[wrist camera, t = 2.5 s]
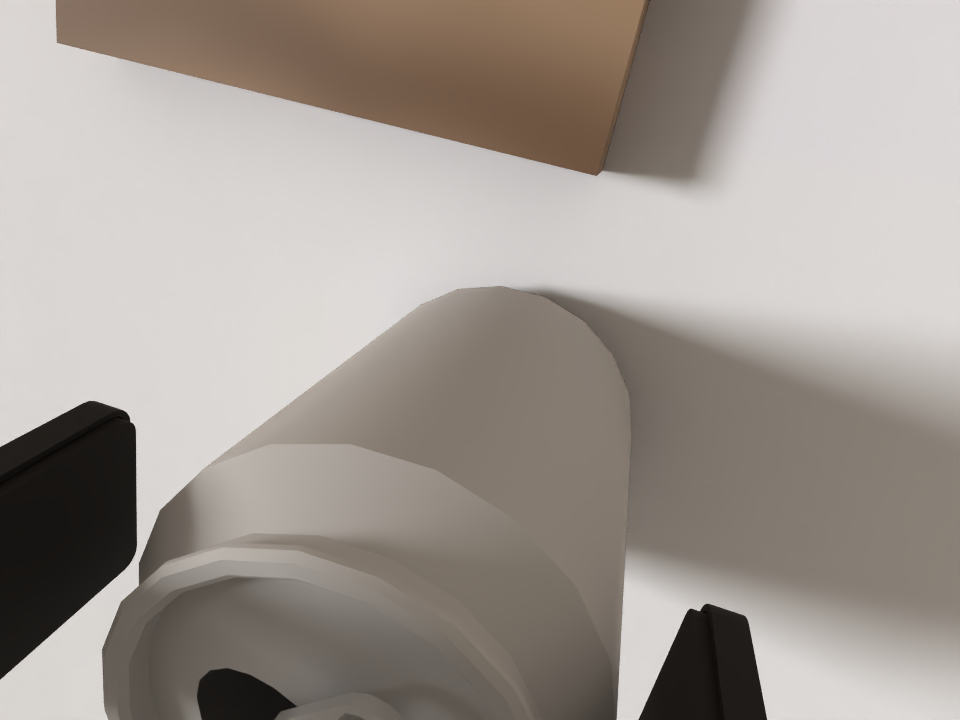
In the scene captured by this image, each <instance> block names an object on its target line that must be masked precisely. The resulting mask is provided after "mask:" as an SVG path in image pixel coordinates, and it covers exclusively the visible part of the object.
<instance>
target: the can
mask: <svg viewBox="0 0 960 720" xmlns="http://www.w3.org/2000/svg"><path fill="white" fill-rule="evenodd" d="M631 439H632V432H631V413H630V395H629V392H628V390H627V387H626V385H625V383H624V380H623V378H622V375H621V373H620V370H619V368H618V366H617V363H616V361H615V358H614V356H613V354H612V353H611V352H610V351H609V350H608V349H607V347H606V346H605V345H604V344H603V343H602V342H601V340H600V339H599V338H598V337H597V336H596V335H595V333H594V332H593V331H592V330H591V329H590V328H589V327H588V325H587V324H586V323H585V322H584V321H583V320H581V319H580V318H578V317H576V316H575V315H573V314H572V313H570V312H568V311H567V310H565V309H563V308H562V307H560V306H559V305H557V304H555V303H554V302H552V301H550V300H549V299H547V298H545V297H542V296H538V295H535V294H531V293H527V292H523V291H519V290H515V289H511V288H507V287H503V286H496V287H481V288H466V289H457V290H455V291H452V292H450V293H448V294H445V295H443V296H440V297H438V298H436V299H433V300H431V301H428V302H426V303H424V304H421V305H420V306H418V307H417V308H416V309H414V310H413V311H412V312H410V313H409V314H408V315H406V316H405V317H404V318H402V319H401V320H400V321H398V322H397V323H396V324H394V325H393V326H392V327H390V328H389V329H388V330H387V331H385V332H384V333H383V334H381V335H380V336H379V337H377V338H376V339H375V340H373V341H372V342H371V343H369V344H368V345H367V346H365V347H364V348H363V349H361V350H360V351H359V352H357V353H356V354H355V355H353V356H352V357H351V358H349V359H348V360H347V361H346V362H344V363H343V364H342V365H340V366H339V367H338V368H336V369H335V370H334V371H332V372H331V373H330V374H328V375H327V376H326V377H324V378H323V379H322V380H320V381H319V382H318V383H316V384H315V385H314V386H312V387H311V388H310V389H309V390H307V391H306V392H305V393H303V394H302V395H301V396H299V397H298V398H297V399H295V400H294V401H293V402H291V403H290V404H289V405H287V406H286V407H285V408H283V409H282V410H281V411H279V412H278V413H277V414H275V415H274V416H273V417H271V418H270V419H269V420H268V421H266V422H265V423H264V424H262V425H261V426H260V427H258V428H257V429H256V430H254V431H253V432H252V433H250V434H249V435H248V436H246V437H245V438H244V439H242V440H241V441H240V442H238V443H237V444H236V445H234V446H233V447H232V448H231V449H229V450H228V451H227V452H225V453H224V454H223V455H221V456H220V457H219V458H217V459H216V460H215V461H213V462H212V463H211V464H209V465H208V466H207V467H205V468H204V469H203V470H202V471H201V472H200V473H199V474H198V475H197V476H196V477H195V478H194V479H193V480H192V481H190V482H189V483H188V484H187V485H186V486H185V487H184V488H183V489H182V490H181V491H180V492H179V493H178V494H177V495H176V496H175V497H174V498H173V499H172V500H171V501H169V502H168V503H167V504H166V505H165V506H164V507H163V508H162V509H161V510H160V512H159V515H158V517H157V520H156V522H155V525H154V527H153V530H152V532H151V535H150V537H149V540H148V542H147V545H146V547H145V550H144V552H143V555H142V557H141V560H140V562H139V586H138V587H137V588H136V589H135V590H134V591H133V592H132V593H131V594H129V595H128V596H127V597H126V598H125V599H124V600H123V601H122V602H121V603H120V606H119V608H118V611H117V613H116V616H115V618H114V621H113V623H112V626H111V628H110V631H109V633H108V636H107V638H106V641H105V644H104V646H103V649H102V660H103V691H104V707H105V712H106V714H107V717H108V720H616V719H617V700H618V682H619V663H620V644H621V626H622V607H623V588H624V570H625V551H626V532H627V514H628V495H629V476H630V458H631Z"/></svg>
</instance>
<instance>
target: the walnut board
mask: <svg viewBox="0 0 960 720" xmlns="http://www.w3.org/2000/svg"><path fill="white" fill-rule="evenodd" d="M649 1H650V0H56V27H57V43H60V44H64V45H68V46H72V47H76V48H80V49H85V50H89V51H93V52H97V53H101V54H105V55H109V56H113V57H117V58H121V59H125V60H129V61H133V62H137V63H141V64H145V65H149V66H153V67H157V68H162V69H166V70H170V71H174V72H178V73H182V74H186V75H190V76H194V77H198V78H202V79H206V80H210V81H214V82H218V83H222V84H226V85H230V86H234V87H239V88H243V89H247V90H251V91H255V92H259V93H263V94H267V95H271V96H275V97H279V98H283V99H287V100H291V101H295V102H299V103H303V104H307V105H312V106H316V107H320V108H324V109H328V110H332V111H336V112H340V113H344V114H348V115H352V116H356V117H360V118H364V119H368V120H372V121H376V122H380V123H384V124H389V125H393V126H397V127H401V128H405V129H409V130H413V131H417V132H421V133H425V134H429V135H433V136H437V137H441V138H445V139H449V140H453V141H457V142H461V143H466V144H470V145H474V146H478V147H482V148H486V149H490V150H494V151H498V152H502V153H506V154H510V155H514V156H518V157H522V158H526V159H530V160H534V161H538V162H543V163H547V164H551V165H555V166H559V167H563V168H567V169H571V170H575V171H579V172H583V173H587V174H591V175H595V176H597V175H598V174H599V173H600V172H602V170H603V166H604V163H605V159H606V155H607V152H608V148H609V145H610V141H611V137H612V134H613V130H614V127H615V123H616V119H617V116H618V112H619V109H620V105H621V101H622V98H623V94H624V91H625V87H626V83H627V80H628V76H629V73H630V69H631V65H632V62H633V58H634V55H635V51H636V47H637V44H638V40H639V37H640V33H641V29H642V26H643V22H644V19H645V15H646V11H647V8H648V4H649Z"/></svg>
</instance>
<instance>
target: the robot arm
mask: <svg viewBox="0 0 960 720" xmlns="http://www.w3.org/2000/svg"><path fill="white" fill-rule="evenodd" d="M136 548H137V511H136V430H135V426H134V424H133V423H131V422H130V417H129V415H128V414H127V413H126V412H125V411H123V410H120V409H117V408H114V407H111V406H108V405H105V404H102V403H99V402H96V401H88V402H86V403H83V404H81V405H79V406H77V407H75V408H73V409H72V410H70V411H68V412H66V413H64V414H62V415H60V416H58V417H56V418H54V419H53V420H51V421H49V422H47V423H45V424H43V425H41V426H39V427H37V428H35V429H34V430H32V431H30V432H28V433H26V434H24V435H22V436H20V437H18V438H16V439H15V440H13V441H11V442H9V443H7V444H5V445H3V446H1V447H0V679H1V678H3V677H4V676H5V675H6V674H7V673H8V672H9V671H10V670H12V669H13V668H14V667H15V666H16V665H17V664H18V663H20V662H21V661H22V660H23V659H24V658H25V657H26V656H27V655H29V654H30V653H31V652H32V651H33V650H34V649H35V648H36V647H38V646H39V645H40V644H41V643H42V642H43V641H44V640H46V639H47V638H48V637H49V636H50V635H51V634H52V633H53V632H55V631H56V630H57V629H58V628H59V627H60V626H61V625H62V624H64V623H65V622H66V621H67V620H68V619H69V618H70V617H72V616H73V615H74V614H75V613H76V612H77V611H78V610H79V609H81V608H82V607H83V606H84V605H85V604H86V603H87V602H88V601H90V600H91V599H92V598H93V597H94V596H95V595H96V594H98V593H99V592H100V591H101V590H102V589H103V588H104V587H105V586H107V585H108V584H109V583H110V582H111V581H112V580H113V579H114V578H116V577H117V576H118V575H119V574H120V573H121V572H122V571H124V570H125V569H126V568H127V566H128V565H129V564H130V563H131V561H132V559H133V557H134V555H135V552H136ZM639 720H767V717H766V711H765V706H764V701H763V696H762V691H761V685H760V680H759V675H758V670H757V665H756V659H755V654H754V649H753V644H752V639H751V633H750V628H749V623H748V620H747V618H746V617H745V616H744V615H741V614H738V613H735V612H732V611H729V610H726V609H723V608H720V607H717V606H714V605H710V604H705V605H704V606H703V607H702V609H701V611H697V610H694V609H689V610H688V611H687V613H686V615H685V617H684V620H683V622H682V624H681V626H680V628H679V631H678V633H677V635H676V637H675V640H674V642H673V644H672V646H671V649H670V651H669V653H668V655H667V658H666V660H665V662H664V664H663V666H662V669H661V671H660V673H659V675H658V678H657V680H656V682H655V684H654V687H653V689H652V691H651V693H650V695H649V698H648V700H647V702H646V704H645V707H644V709H643V711H642V713H641V716H640V718H639Z"/></svg>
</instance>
